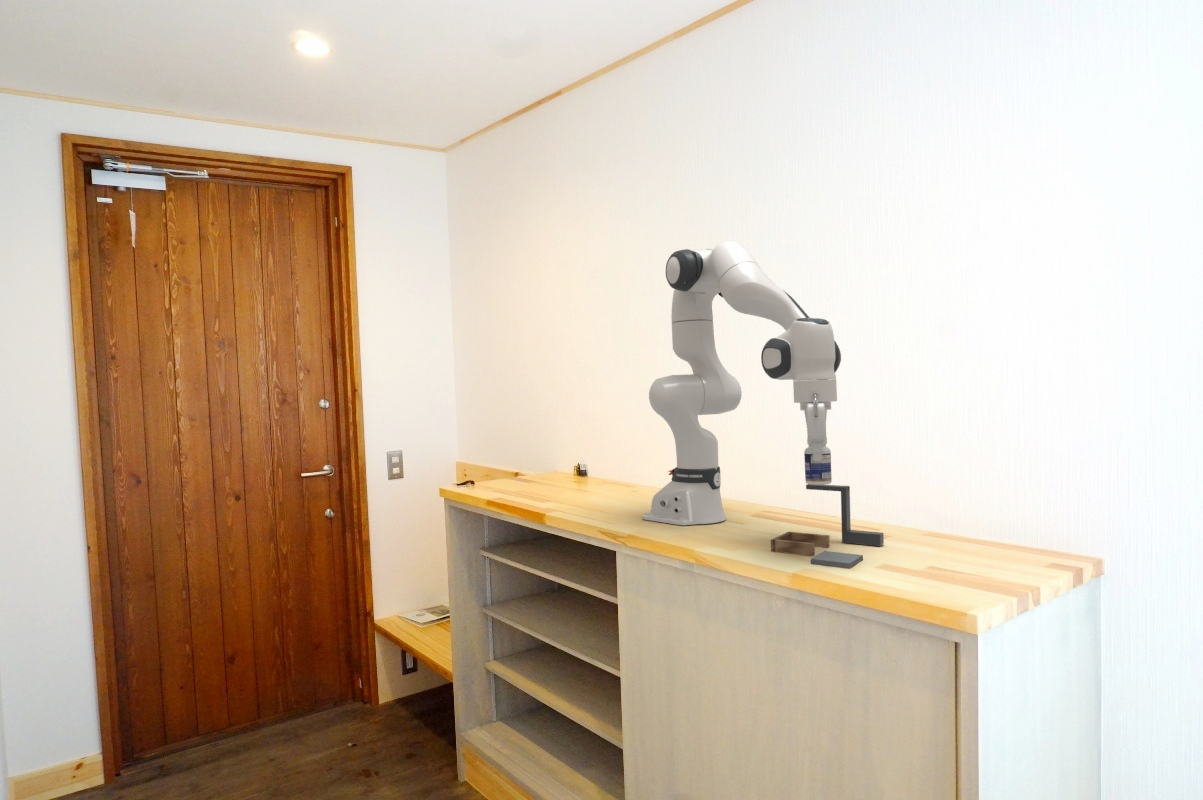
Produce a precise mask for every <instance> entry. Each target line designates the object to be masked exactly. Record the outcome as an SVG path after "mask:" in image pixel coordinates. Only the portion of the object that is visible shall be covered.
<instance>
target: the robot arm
mask: <svg viewBox="0 0 1203 800" xmlns="http://www.w3.org/2000/svg"><path fill="white" fill-rule="evenodd" d="M665 265H666V266H665V277H666V281H667V283H668V285H669V286H670V287H671V289H673V295H672V301H671V316H670V317H671V338H672V339H671V340H672V341H671V342H672V343H671V344H672V350H673V353H674V354H675V356H677V357H678V358H679V359H680V360H682V361H685V362H687V363H688V365H689V366H690V368H691V370H692V374H691V373H690V374H671V375H667V376H663V377H659V378H657V379H655V380H653V382H652V384H651V385H650V389H649V392H648V400H649V404H650V406H651V409H652V410H653V411H654V412H655V413H656V414H657V415H658V416H660V417H661V418H662V419H663V420H664V421H665V422H666V423H667V424H668V426H669V427H670V430H671V432H672V435H673V438H674V443H675V450H676V451H675V452H676V453H675V454H676V467H674V468H672V469H671V470H668V476H671V481H670V482H668V483H666V485H664V486H663V488H660V490H659V491H657V492H656V493H655V494H654V495H653V496H652V500H651V506H650V511H647V512H645V513H644V514H643V515H642V520H645V521H652V522H658V523H665V524H672V525H676V526H678V525H679V526H691V525H704V524H705V525H706V524H707V525H708V524H717V523H720V522H724V521H726V520H727V518H726V517H727V516H726V514H725V510H724V506H723V501H722V496H721V495H722V494H721V483H722V481H721V478H722V477H721V466H719V442H718V439H717V437H716V436H715V434H713V432H711V431H710V430H709V429H706V428H704V427H702V425H701V423H700V421H699V417H698V416H705V415H707V416H708V415H709V416H710V415H720V414H725V413H728V412H732V411H734V410H736V409H737V408H738V407H739V405H740V402H741V400H742V394H743V393H742V387H741V385H740V384H741V383H740V382H739V381H738V379H737V378H736V377H735V376H733V375H732V374H731V373H730V372H728V370H727V369H726V368H725V366H723V363H722V362H721V360H720V359H719V356H718V353H717V349H716V343H715V333H714V332H715V330H714V313H713V301H714V299H715V297H716V296H717V295H718V296H719V297H721V298H723V299H724V301H725V302H726V303H727V305H729V306H730V307H731V308H732V309H733V310H734V311H736V312H737V313H741V314H744V315H750V316H755V317H759V318H762V319H763V318H764V319H766V320H769V321H772V322H774V323H775V324H778V325H780V326H781V327H782V328H783V329H784V332H783V333H781V334H780V335H778V336H775V337H773V338H770V339H769V340H767V341H766V343H765V344H764V345H763V347H762V350H761V356H760V358H761V362H760V363H761V366H762V368H763V371H764V372H765V374H766V375H767V377H769V378H770V379H773V380H780V381H784V380H785V381H787V380H788V381H789V380H792V384H793V387H792V389H793V403H796V404H799V405H800V406H799V410H800V411H803V412H804V417H805V423H806V432H807V438H808V440H810V441H812V450H813V460H814V461H821V460H822V440H825V439H826V437H827V416H828V415H827V414H828V411H829V410H832V402H838V390H837V385H838V384H837V375H836V372H837V370H838V369H839V368H840V365H841V361H842V353H841V350H840V348H839V345H838V344H837V342H836V341H835V336H834V331H833V330H834V329H833V328H832V324H831V322H830V321H828V320H827V319H824V318H818V317H816V318H815V317H810V316H809V315H808V314H807V313H806V312H805V310H804V309H803V308H802V306H800V304H798V302H797V301H796V300H795V299H794V298H793V297H792V296H791V295H790V294H789V293H788V292H787V291H785V290H784V289H783V288H781V287H780V286H779V285H777V284H776V283H775V282H774V281H773V280H772V279H771V278H770V277H769V276H768V274H766V273H765V272H764V271H763V270H764V269H762V268H761V266H760V264H759V263H758V261H757V260H756V259H755V258H754V257H753V255H752V254H751V253H750V252H749V251H748V250H747V249H746V248H745V246H743V245H742V244H741V243H740V242H738V241H734V240H727V241H723V242H720V243H718V244H717V245H716V246H715V247H713V248H705V249H688V248H686V249H680V250H676V251H674V252H673V253H672V254H671V255H670V256H669V257H668V260H667V261H666V264H665Z"/></svg>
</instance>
